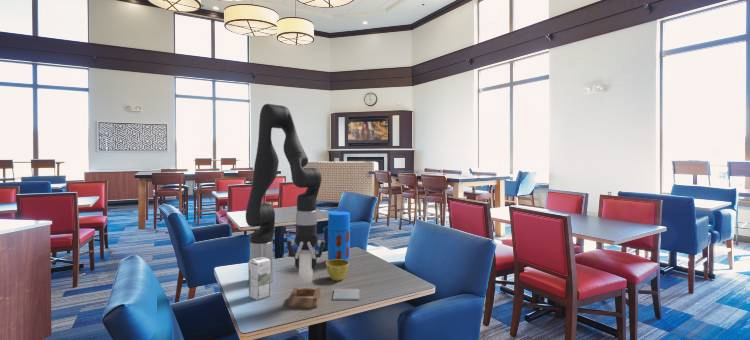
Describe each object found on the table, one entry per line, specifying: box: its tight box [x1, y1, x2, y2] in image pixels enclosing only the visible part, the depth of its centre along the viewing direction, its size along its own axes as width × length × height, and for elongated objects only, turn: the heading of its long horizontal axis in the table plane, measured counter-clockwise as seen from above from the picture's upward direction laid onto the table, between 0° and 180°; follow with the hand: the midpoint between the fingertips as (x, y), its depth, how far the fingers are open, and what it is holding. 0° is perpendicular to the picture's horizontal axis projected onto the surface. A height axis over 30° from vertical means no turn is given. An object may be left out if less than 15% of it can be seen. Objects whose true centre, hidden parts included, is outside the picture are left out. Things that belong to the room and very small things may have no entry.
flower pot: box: [325, 259, 350, 281], centre depth 166 cm, size 10×10×7 cm
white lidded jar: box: [298, 250, 314, 284], centre depth 139 cm, size 5×5×12 cm
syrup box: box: [248, 257, 271, 301], centre depth 144 cm, size 6×6×14 cm
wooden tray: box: [288, 287, 321, 309], centre depth 139 cm, size 10×10×4 cm
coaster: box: [332, 288, 361, 301], centre depth 147 cm, size 10×10×1 cm
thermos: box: [327, 211, 351, 263], centre depth 189 cm, size 11×11×25 cm
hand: (305, 267), depth 139 cm, fingers closed on white lidded jar, 5 cm apart
